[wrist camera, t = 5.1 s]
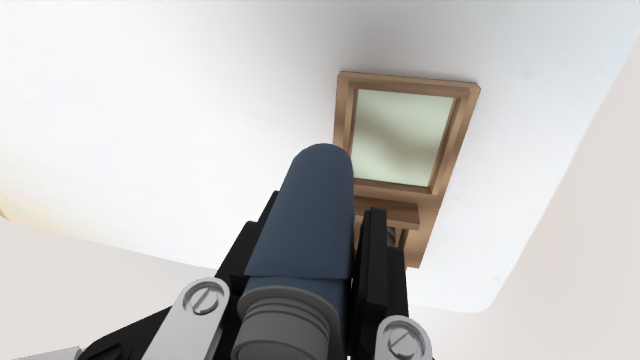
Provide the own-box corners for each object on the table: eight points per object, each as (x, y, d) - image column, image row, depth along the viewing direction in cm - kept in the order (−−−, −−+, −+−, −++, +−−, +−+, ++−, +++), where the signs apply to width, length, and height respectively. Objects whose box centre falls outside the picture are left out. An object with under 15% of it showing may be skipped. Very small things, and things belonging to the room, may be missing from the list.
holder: (339, 71, 25) (317, 120, 17) (476, 83, 24) (527, 142, 15) (327, 244, 37) (310, 324, 29) (417, 258, 36) (428, 346, 27)
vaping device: (307, 232, 15) (189, 708, 5) (291, 138, 12) (-32, 771, 2) (358, 233, 15) (337, 754, 5) (353, 135, 12) (278, 897, 2)
